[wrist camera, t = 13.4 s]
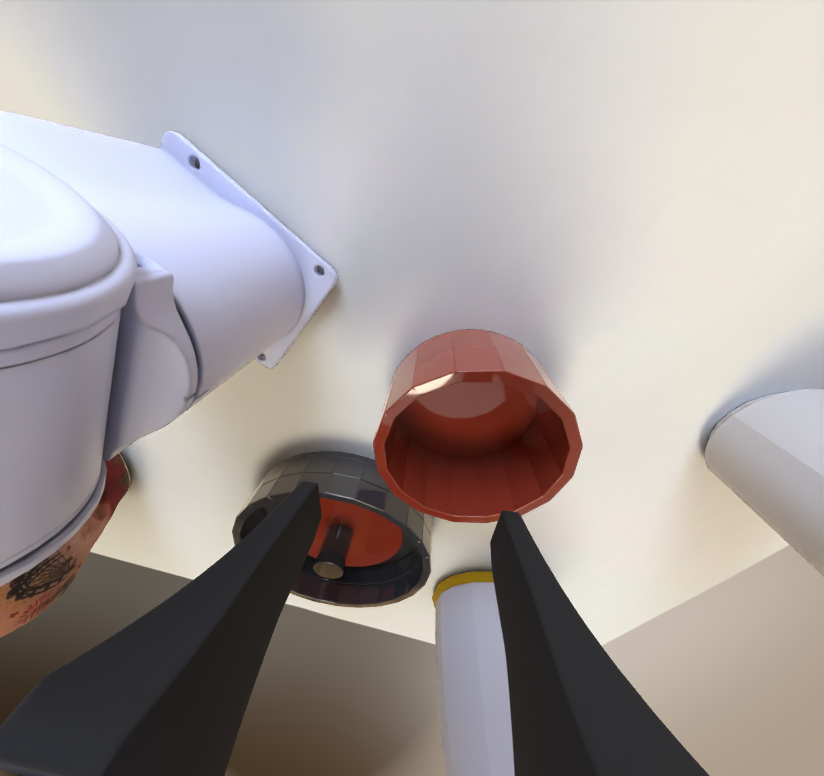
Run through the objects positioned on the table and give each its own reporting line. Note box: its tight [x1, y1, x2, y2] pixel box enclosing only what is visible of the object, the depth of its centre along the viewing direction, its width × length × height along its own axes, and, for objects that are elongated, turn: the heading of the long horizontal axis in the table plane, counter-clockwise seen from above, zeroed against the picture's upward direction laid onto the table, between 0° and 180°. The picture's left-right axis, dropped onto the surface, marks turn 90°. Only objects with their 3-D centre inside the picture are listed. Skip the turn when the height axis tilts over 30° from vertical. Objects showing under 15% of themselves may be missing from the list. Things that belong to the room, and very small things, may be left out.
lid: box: [308, 498, 403, 579], centre depth 25 cm, size 11×11×4 cm
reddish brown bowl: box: [373, 329, 583, 523], centre depth 17 cm, size 10×10×5 cm
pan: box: [232, 452, 432, 608], centre depth 25 cm, size 16×16×4 cm
